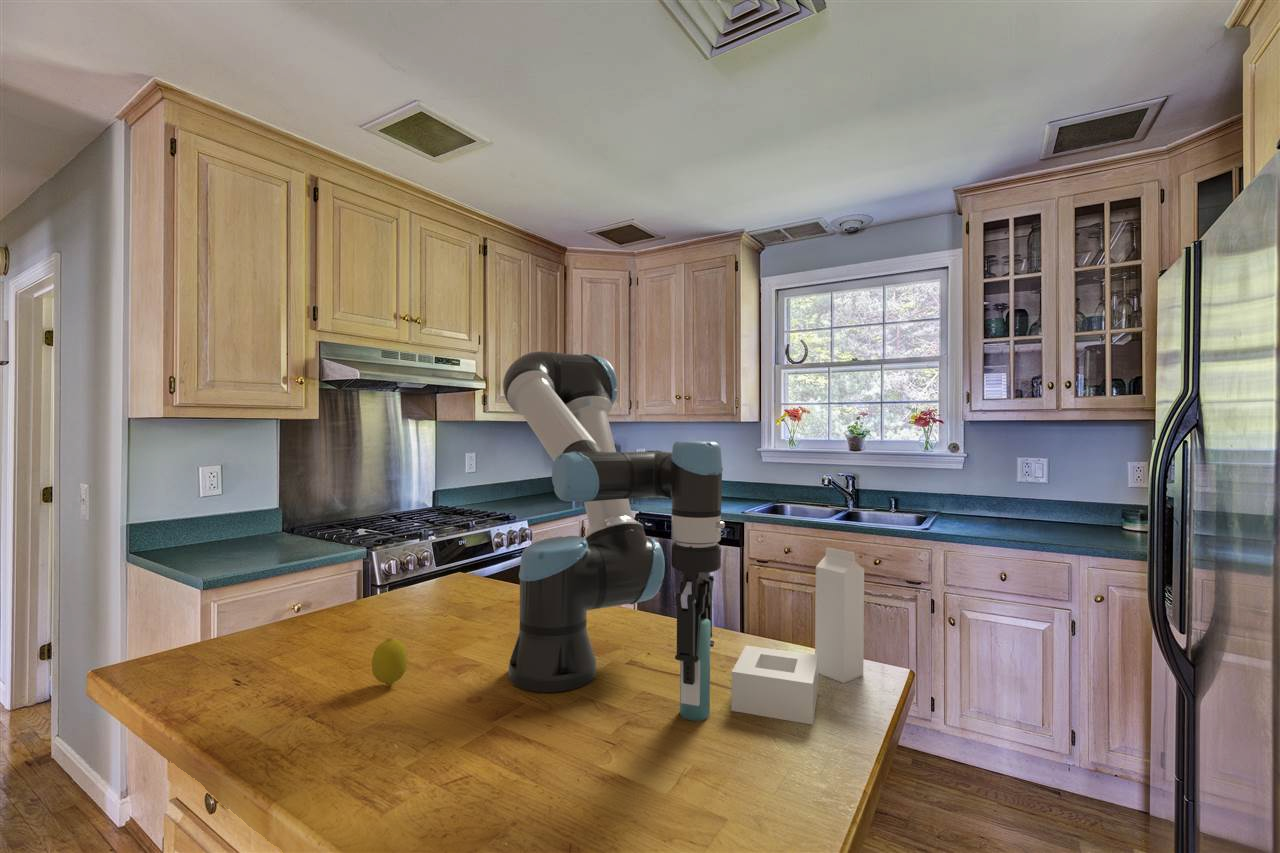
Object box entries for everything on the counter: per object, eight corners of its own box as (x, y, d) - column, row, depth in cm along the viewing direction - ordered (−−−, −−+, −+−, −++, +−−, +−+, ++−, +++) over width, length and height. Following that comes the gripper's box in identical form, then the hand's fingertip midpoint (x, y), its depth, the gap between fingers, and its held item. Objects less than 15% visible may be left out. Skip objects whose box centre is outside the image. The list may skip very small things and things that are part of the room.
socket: (731, 710, 92) (731, 671, 92) (745, 680, 104) (745, 645, 104) (812, 724, 88) (812, 683, 88) (818, 691, 100) (818, 655, 100)
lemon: (414, 682, 102) (415, 635, 102) (388, 695, 97) (389, 645, 97) (390, 676, 104) (391, 630, 104) (363, 689, 99) (364, 640, 99)
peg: (676, 717, 90) (677, 623, 90) (684, 704, 94) (685, 615, 94) (705, 722, 88) (706, 627, 89) (712, 709, 93) (713, 618, 93)
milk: (843, 684, 103) (844, 555, 103) (814, 672, 108) (814, 549, 108) (864, 675, 106) (865, 550, 106) (834, 664, 111) (835, 545, 111)
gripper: (706, 555, 82) (704, 727, 82) (732, 534, 98) (731, 677, 98) (654, 551, 85) (652, 717, 84) (688, 531, 101) (686, 671, 101)
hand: (694, 695), depth 91 cm, fingers closed on peg, 4 cm apart
